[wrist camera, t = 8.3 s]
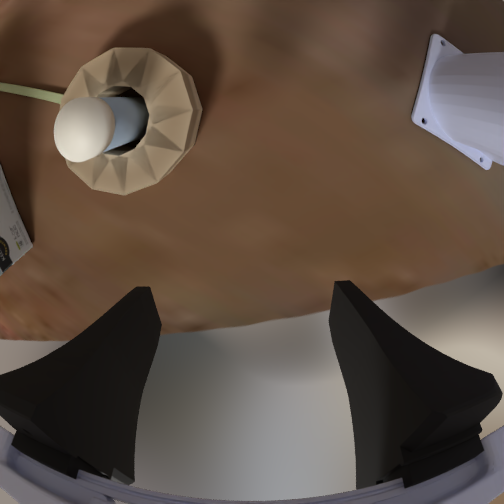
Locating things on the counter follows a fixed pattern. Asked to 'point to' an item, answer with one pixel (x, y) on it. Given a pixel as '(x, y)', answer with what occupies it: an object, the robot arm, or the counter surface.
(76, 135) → the white-tipped blue cylinder
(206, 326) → the counter surface
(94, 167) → the bead
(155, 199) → the counter surface
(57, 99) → the strip
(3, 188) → the tea box
